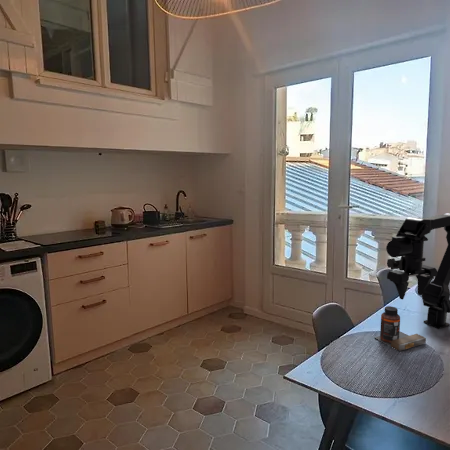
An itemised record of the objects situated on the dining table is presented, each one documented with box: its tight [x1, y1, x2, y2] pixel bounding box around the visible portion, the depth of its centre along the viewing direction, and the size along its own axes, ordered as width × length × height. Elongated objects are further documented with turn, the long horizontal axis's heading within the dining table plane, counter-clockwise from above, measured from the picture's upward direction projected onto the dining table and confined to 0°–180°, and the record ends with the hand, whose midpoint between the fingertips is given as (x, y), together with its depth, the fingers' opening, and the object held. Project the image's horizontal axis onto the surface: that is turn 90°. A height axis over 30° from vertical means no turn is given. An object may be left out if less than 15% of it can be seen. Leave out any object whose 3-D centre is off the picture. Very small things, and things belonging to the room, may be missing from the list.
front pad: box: [374, 331, 410, 347], centre depth 130 cm, size 12×7×1 cm, turn 115°
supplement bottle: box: [379, 305, 401, 343], centre depth 127 cm, size 6×6×11 cm
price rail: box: [390, 333, 427, 352], centre depth 125 cm, size 12×4×2 cm, turn 115°
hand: (410, 297), depth 133 cm, fingers open, 9 cm apart
